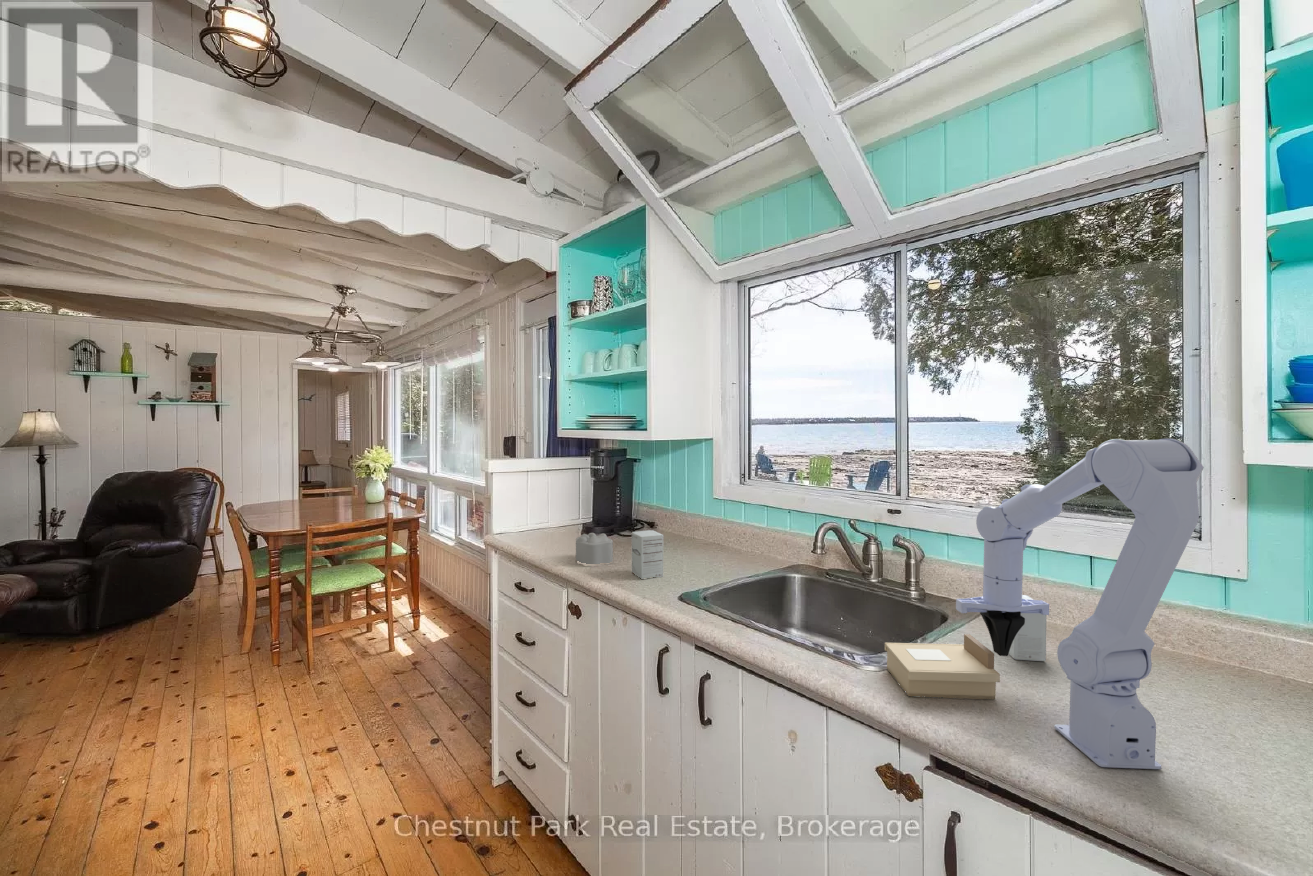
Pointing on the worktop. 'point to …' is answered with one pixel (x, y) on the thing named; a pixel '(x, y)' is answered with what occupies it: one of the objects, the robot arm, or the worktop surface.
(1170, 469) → the robot arm
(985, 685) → the mailer box
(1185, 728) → the worktop surface
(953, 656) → the lid
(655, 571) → the supplement box
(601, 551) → the lumpy-topped squat cylinder
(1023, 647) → the small box
